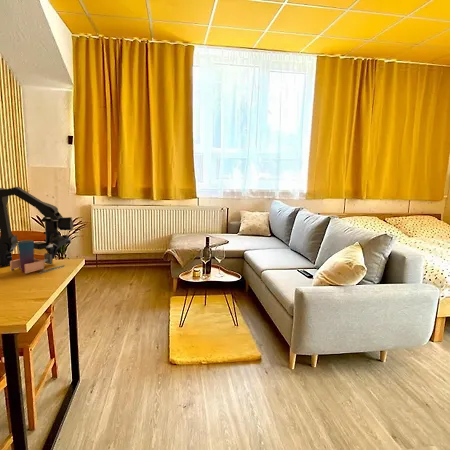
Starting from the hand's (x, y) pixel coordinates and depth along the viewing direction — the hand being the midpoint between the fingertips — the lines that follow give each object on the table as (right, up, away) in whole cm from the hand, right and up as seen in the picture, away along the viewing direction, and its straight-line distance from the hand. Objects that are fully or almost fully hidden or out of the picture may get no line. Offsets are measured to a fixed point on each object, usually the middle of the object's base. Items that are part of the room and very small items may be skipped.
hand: (52, 258), depth 175 cm
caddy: (-5, -4, -9) cm, 11 cm away
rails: (-3, -4, -5) cm, 7 cm away
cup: (-6, -5, -12) cm, 14 cm away
